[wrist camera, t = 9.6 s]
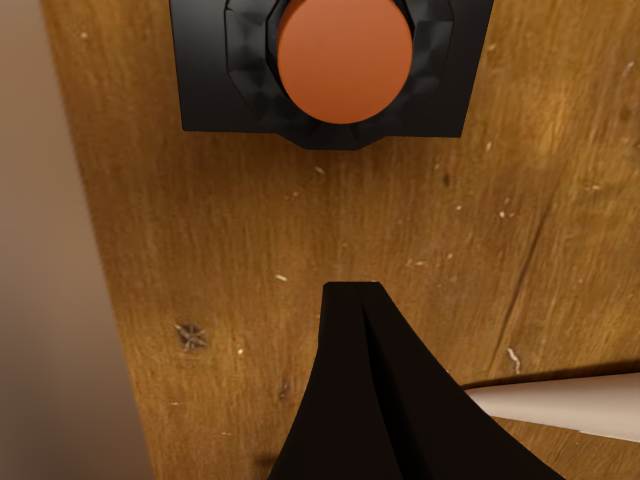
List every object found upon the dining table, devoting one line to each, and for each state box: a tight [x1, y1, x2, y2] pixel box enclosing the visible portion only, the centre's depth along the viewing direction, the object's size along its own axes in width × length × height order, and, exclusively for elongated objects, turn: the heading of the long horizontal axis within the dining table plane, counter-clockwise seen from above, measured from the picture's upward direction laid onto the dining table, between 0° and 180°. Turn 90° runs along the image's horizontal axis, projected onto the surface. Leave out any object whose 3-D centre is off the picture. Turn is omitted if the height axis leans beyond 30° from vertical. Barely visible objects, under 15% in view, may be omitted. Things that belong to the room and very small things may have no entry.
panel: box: [169, 0, 494, 151], centre depth 15 cm, size 10×7×4 cm
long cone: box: [464, 373, 640, 442], centre depth 28 cm, size 6×6×19 cm
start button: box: [277, 0, 413, 124], centre depth 14 cm, size 4×4×2 cm
